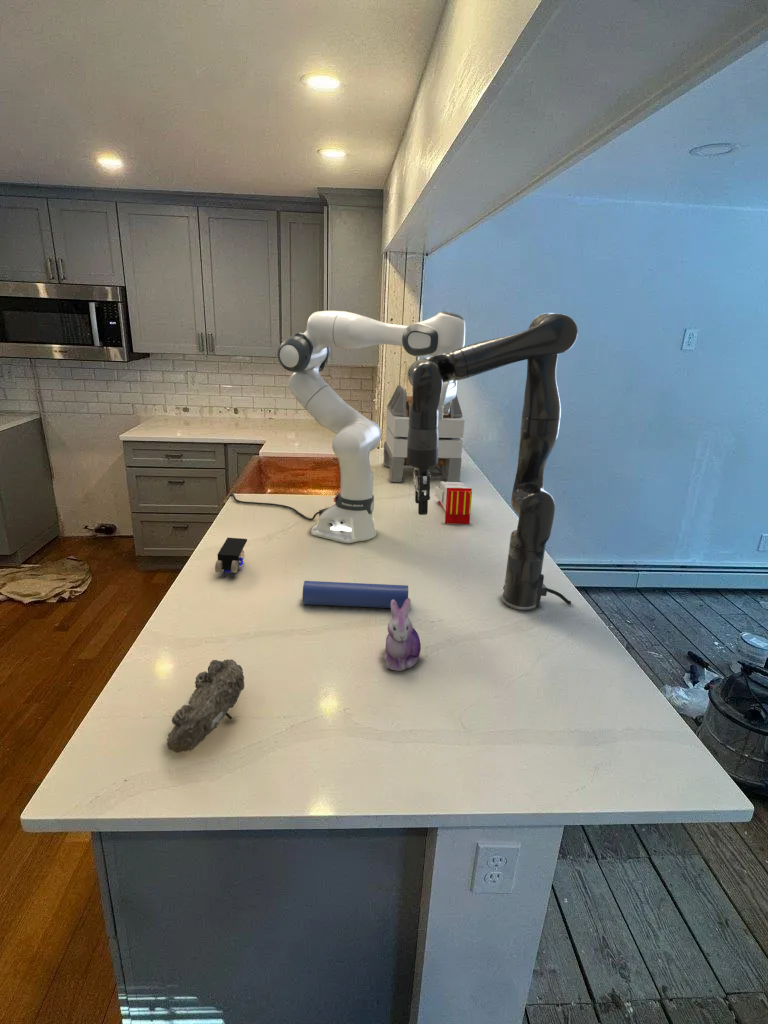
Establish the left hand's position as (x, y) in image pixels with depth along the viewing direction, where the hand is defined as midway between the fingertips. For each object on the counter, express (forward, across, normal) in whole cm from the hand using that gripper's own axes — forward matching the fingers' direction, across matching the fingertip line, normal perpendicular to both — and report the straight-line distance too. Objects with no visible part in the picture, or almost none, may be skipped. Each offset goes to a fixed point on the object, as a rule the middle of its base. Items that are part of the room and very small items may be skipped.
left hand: (442, 417), depth 172 cm
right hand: (+17, +38, +4) cm, 41 cm away
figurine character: (+45, +37, -52) cm, 78 cm away
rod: (+44, +43, -11) cm, 63 cm away
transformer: (+45, -90, -26) cm, 104 cm away
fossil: (+45, +94, -21) cm, 106 cm away
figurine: (+44, +63, +8) cm, 77 cm away
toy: (+44, -41, -1) cm, 60 cm away
